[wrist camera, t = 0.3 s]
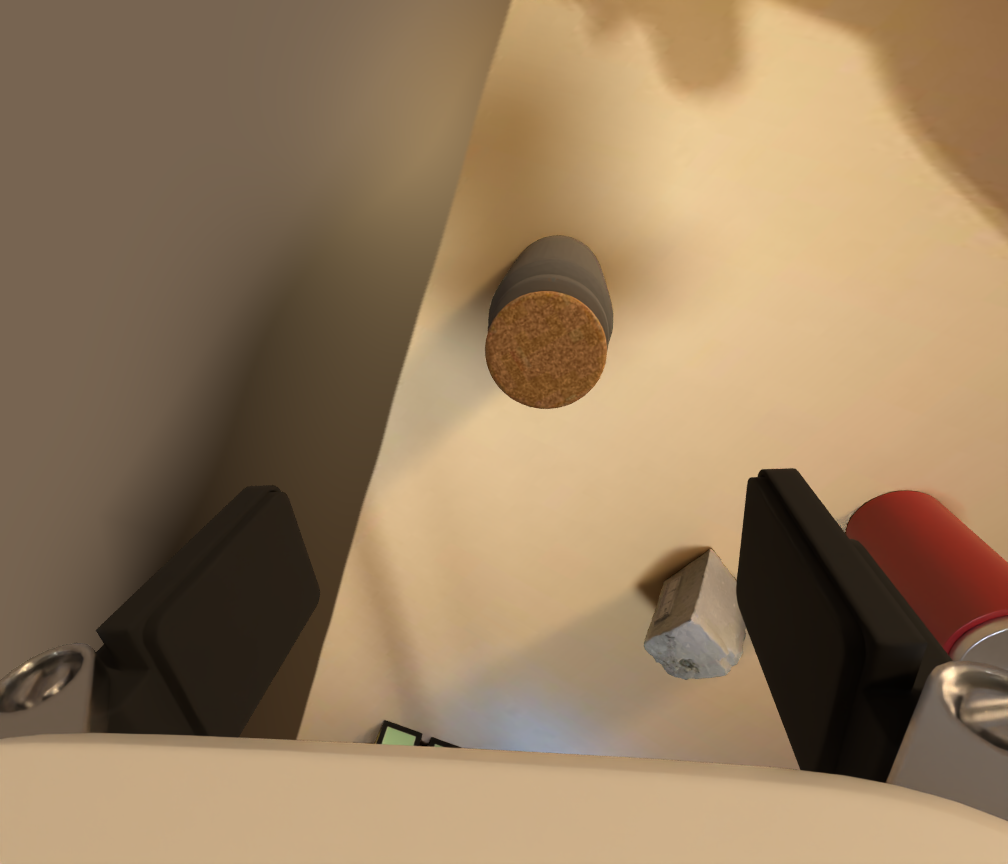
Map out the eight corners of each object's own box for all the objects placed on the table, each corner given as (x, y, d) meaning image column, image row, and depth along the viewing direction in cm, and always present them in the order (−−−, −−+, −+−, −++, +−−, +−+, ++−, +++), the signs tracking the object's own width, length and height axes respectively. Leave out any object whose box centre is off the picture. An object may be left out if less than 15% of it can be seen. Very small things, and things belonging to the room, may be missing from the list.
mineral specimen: (683, 525, 39) (728, 614, 33) (745, 574, 43) (797, 664, 36) (610, 577, 42) (637, 669, 35) (673, 619, 46) (709, 710, 39)
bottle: (608, 318, 34) (631, 410, 21) (521, 335, 35) (489, 432, 22) (595, 224, 32) (611, 259, 18) (502, 245, 33) (453, 293, 19)
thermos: (830, 517, 38) (929, 648, 28) (926, 474, 36) (1075, 600, 25) (866, 576, 40) (972, 721, 30) (960, 540, 38) (1112, 683, 27)
